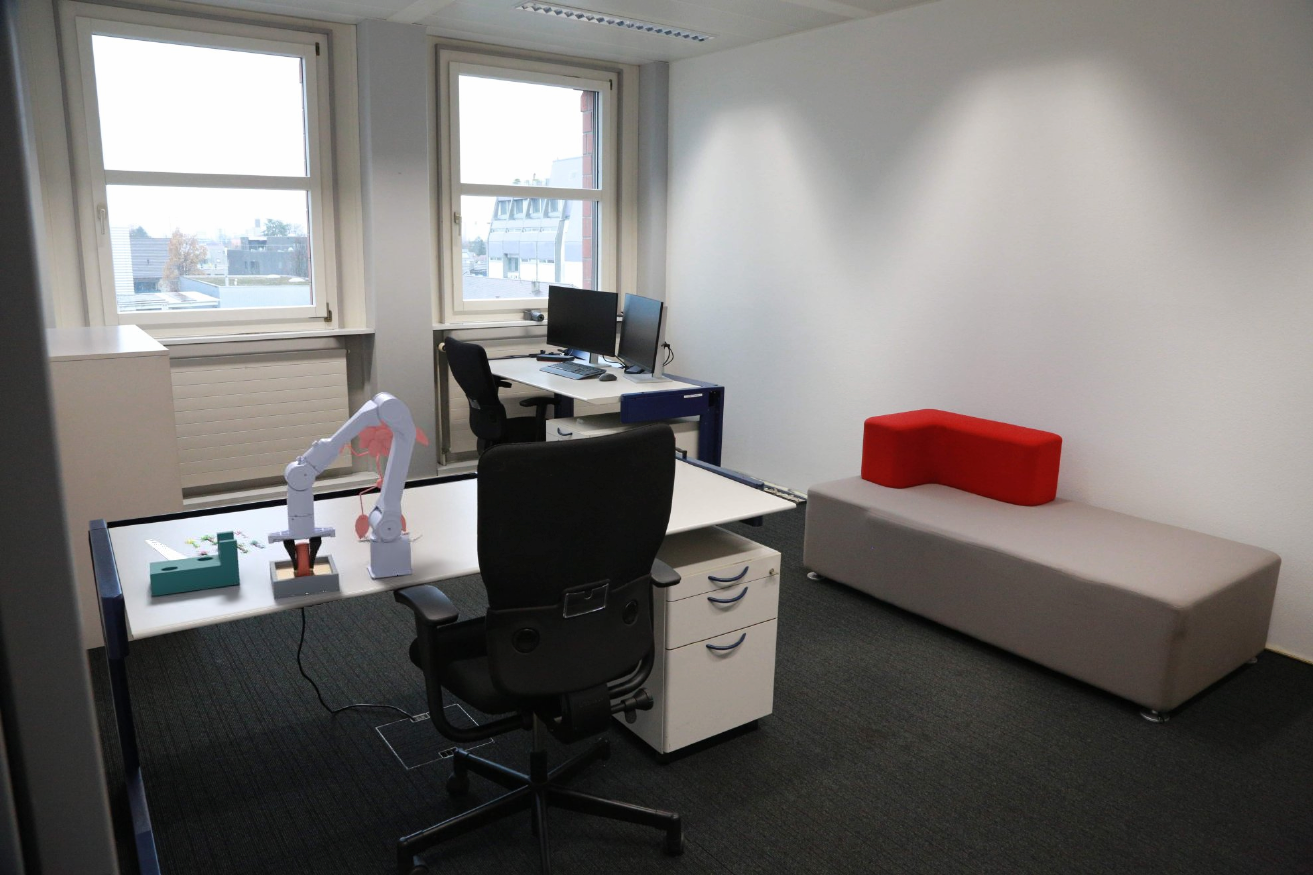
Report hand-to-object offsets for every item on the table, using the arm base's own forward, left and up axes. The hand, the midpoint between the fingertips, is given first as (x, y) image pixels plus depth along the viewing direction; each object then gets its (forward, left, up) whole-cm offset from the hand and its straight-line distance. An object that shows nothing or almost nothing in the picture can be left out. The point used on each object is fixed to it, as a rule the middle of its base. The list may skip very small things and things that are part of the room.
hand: (303, 568), depth 211 cm
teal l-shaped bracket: (+23, -9, -4) cm, 25 cm away
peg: (0, 0, -2) cm, 2 cm away
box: (0, 0, -4) cm, 4 cm away
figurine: (-23, -27, -4) cm, 36 cm away
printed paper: (+16, -36, -5) cm, 40 cm away
